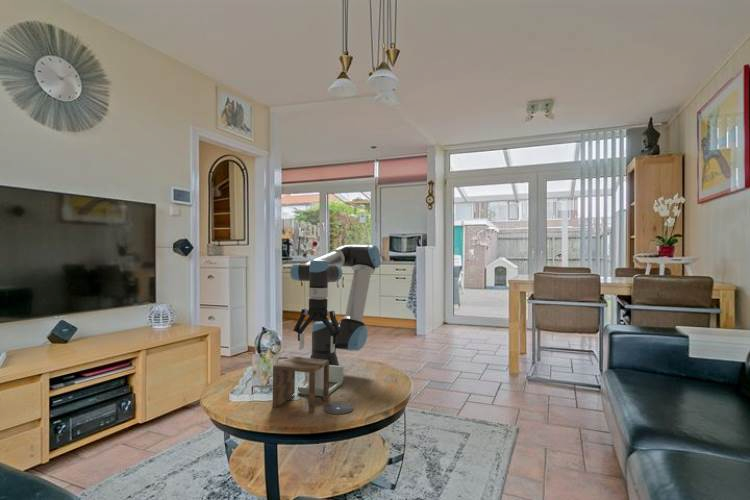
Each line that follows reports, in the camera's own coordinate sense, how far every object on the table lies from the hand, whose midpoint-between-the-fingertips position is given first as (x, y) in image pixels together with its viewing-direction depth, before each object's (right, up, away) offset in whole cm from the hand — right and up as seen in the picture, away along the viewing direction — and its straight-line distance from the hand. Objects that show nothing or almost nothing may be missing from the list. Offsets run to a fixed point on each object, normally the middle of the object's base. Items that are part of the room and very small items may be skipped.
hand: (317, 350), depth 167 cm
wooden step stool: (-4, -17, -12) cm, 21 cm away
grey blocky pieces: (+1, -16, +5) cm, 17 cm away
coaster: (+10, -17, -17) cm, 26 cm away
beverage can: (0, -17, +1) cm, 17 cm away
